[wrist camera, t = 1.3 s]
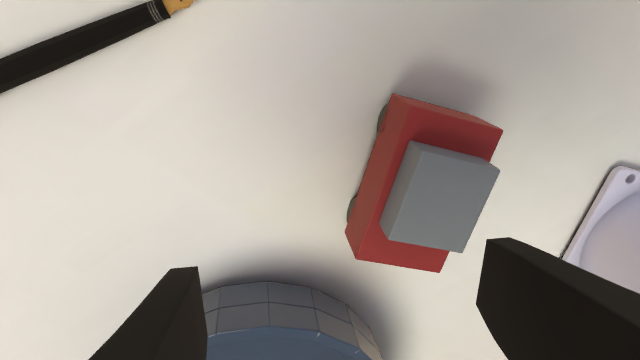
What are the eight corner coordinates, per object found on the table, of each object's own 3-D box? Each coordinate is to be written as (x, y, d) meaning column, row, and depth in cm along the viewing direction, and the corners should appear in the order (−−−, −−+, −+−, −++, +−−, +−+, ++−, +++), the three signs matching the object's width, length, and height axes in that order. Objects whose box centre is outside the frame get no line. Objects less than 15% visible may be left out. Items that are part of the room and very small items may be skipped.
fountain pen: (201, -26, 16) (196, -29, 14) (215, 5, 16) (212, 6, 15) (-147, 120, 16) (-186, 131, 14) (-123, 147, 16) (-157, 160, 15)
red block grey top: (468, 112, 19) (525, 140, 15) (416, 240, 22) (453, 293, 18) (387, 90, 18) (425, 113, 14) (341, 226, 21) (363, 279, 17)
